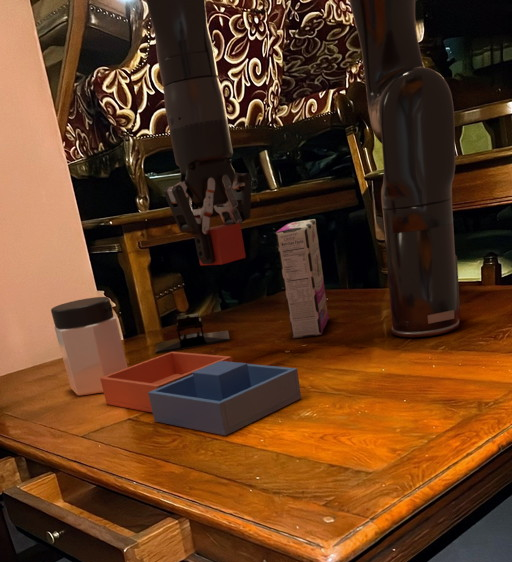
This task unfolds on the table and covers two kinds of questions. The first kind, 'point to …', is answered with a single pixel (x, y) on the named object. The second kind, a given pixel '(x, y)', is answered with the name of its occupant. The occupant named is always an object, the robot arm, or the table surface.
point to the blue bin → (226, 401)
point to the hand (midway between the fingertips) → (222, 258)
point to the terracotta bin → (152, 378)
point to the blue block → (221, 380)
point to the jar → (88, 342)
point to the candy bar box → (303, 278)
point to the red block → (227, 243)
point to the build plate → (191, 335)
